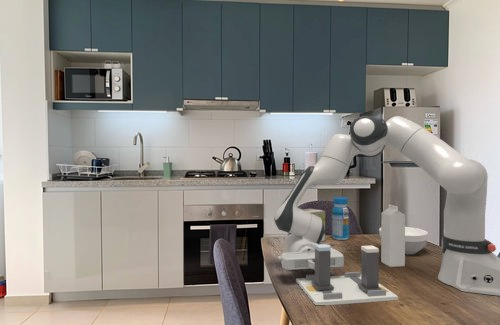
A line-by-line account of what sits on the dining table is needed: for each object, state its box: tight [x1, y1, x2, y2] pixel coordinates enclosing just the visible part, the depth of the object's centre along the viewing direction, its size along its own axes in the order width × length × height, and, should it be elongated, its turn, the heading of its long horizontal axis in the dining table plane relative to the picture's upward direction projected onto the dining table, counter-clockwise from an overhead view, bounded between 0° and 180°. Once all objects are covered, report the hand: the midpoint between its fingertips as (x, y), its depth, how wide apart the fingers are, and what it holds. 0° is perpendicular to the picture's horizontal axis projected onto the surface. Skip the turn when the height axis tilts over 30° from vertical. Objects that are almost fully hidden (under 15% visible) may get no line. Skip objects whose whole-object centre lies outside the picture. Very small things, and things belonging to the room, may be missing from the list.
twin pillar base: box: [295, 271, 399, 306], centre depth 100 cm, size 24×18×2 cm
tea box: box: [288, 208, 326, 243], centre depth 159 cm, size 15×10×15 cm
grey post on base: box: [358, 245, 382, 293], centre depth 97 cm, size 5×5×12 cm
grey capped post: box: [312, 243, 334, 291], centre depth 99 cm, size 5×5×12 cm
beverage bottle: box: [331, 196, 350, 241], centre depth 165 cm, size 8×8×20 cm
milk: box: [380, 204, 406, 268], centre depth 124 cm, size 6×6×22 cm
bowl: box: [378, 226, 429, 256], centre depth 142 cm, size 19×19×9 cm
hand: (320, 267), depth 101 cm, fingers closed, pressing on grey capped post
